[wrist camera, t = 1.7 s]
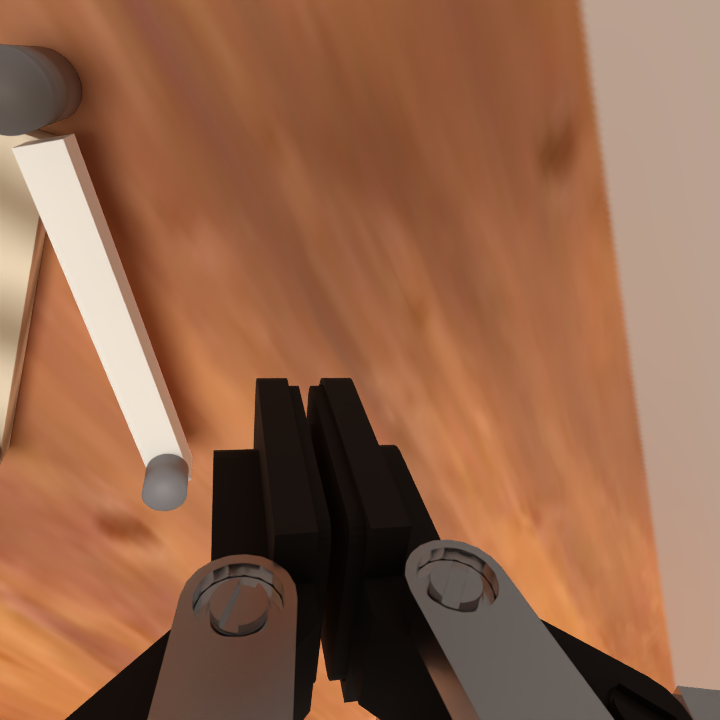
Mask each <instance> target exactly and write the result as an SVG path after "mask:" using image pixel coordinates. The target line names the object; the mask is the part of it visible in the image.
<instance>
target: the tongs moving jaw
mask: <svg viewBox="0 0 720 720" xmlns="http://www.w3.org/2000/svg"><path fill="white" fill-rule="evenodd" d="M12 151H13V153H14V155H15V158H16V160H17V163H18V165H19V167H20V170H21V172H22V174H23V177H24V179H25V182H26V184H27V186H28V189H29V191H30V193H31V196H32V198H33V201H34V203H35V205H36V208H37V210H38V212H39V215H40V217H41V220H42V222H43V224H44V227H45V229H46V231H47V234H48V236H49V239H50V241H51V243H52V246H53V248H54V250H55V253H56V255H57V257H58V260H59V262H60V265H61V267H62V269H63V272H64V274H65V276H66V279H67V281H68V284H69V286H70V288H71V291H72V293H73V295H74V298H75V300H76V303H77V305H78V307H79V310H80V312H81V314H82V317H83V319H84V322H85V324H86V326H87V329H88V331H89V333H90V336H91V338H92V341H93V343H94V345H95V348H96V350H97V352H98V355H99V357H100V359H101V362H102V364H103V367H104V369H105V371H106V374H107V376H108V378H109V381H110V383H111V386H112V388H113V390H114V393H115V395H116V397H117V400H118V402H119V405H120V407H121V409H122V412H123V414H124V416H125V419H126V421H127V424H128V426H129V428H130V431H131V433H132V435H133V438H134V440H135V443H136V445H137V447H138V450H139V452H140V454H141V457H142V459H143V461H144V464H145V466H146V473H145V479H144V484H143V490H142V499H143V501H144V503H145V504H146V505H147V506H149V507H150V508H152V509H154V510H158V511H169V510H173V509H176V508H178V507H179V506H181V505H182V504H183V503H184V501H185V499H186V497H187V486H188V480H191V478H192V464H193V457H192V454H191V451H190V449H189V446H188V443H187V440H186V438H185V435H184V432H183V430H182V427H181V424H180V421H179V419H178V416H177V413H176V410H175V408H174V405H173V402H172V399H171V397H170V394H169V391H168V389H167V386H166V383H165V380H164V378H163V375H162V372H161V369H160V367H159V364H158V361H157V359H156V356H155V353H154V350H153V348H152V345H151V342H150V339H149V337H148V334H147V331H146V329H145V326H144V323H143V320H142V318H141V315H140V312H139V309H138V307H137V304H136V301H135V299H134V296H133V293H132V290H131V288H130V285H129V282H128V279H127V277H126V274H125V271H124V268H123V266H122V263H121V260H120V258H119V255H118V252H117V249H116V247H115V244H114V241H113V238H112V236H111V233H110V230H109V228H108V225H107V222H106V219H105V217H104V214H103V211H102V208H101V206H100V203H99V200H98V198H97V195H96V192H95V189H94V187H93V184H92V181H91V178H90V176H89V173H88V170H87V167H86V165H85V162H84V159H83V157H82V154H81V151H80V148H79V146H78V143H77V140H76V137H75V135H74V134H68V135H62V136H57V137H51V138H45V139H40V140H34V141H29V142H25V143H23V144H20V145H18V146H16V147H13V148H12Z"/></svg>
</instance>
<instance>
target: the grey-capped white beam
mask: <svg viewBox="0 0 720 720" xmlns="http://www.w3.org/2000/svg"><path fill="white" fill-rule="evenodd" d="M81 96H82V87H81V82H80V79H79V76H78V74H77V72H76V70H75V69H74V67H73V66H72V65H71V63H70V62H69V61H68V60H67V59H66V58H65V57H63V56H62V55H61V54H59V53H57V52H56V51H54V50H51V49H48V48H45V47H37V46H20V45H3V44H0V464H1V462H2V460H3V458H4V456H5V454H6V453H7V451H8V449H9V446H10V440H11V434H12V428H13V422H14V416H15V410H16V404H17V399H18V393H19V387H20V381H21V375H22V369H23V363H24V357H25V352H26V346H27V340H28V334H29V328H30V322H31V316H32V310H33V305H34V299H35V293H36V287H37V281H38V275H39V269H40V263H41V258H42V252H43V246H44V240H45V234H46V229H45V227H44V224H43V222H42V220H41V217H40V215H39V212H38V210H37V208H36V205H35V203H34V201H33V198H32V196H31V193H30V191H29V189H28V186H27V184H26V182H25V179H24V177H23V174H22V172H21V170H20V167H19V165H18V163H17V160H16V158H15V155H14V153H13V151H12V148H13V147H16V146H18V145H20V144H23V143H25V142H29V141H34V140H40V139H45V138H51V137H57V136H56V135H53V134H50V133H47V132H44V131H41V130H38V129H39V128H42V127H44V126H47V125H49V124H52V123H54V122H57V121H60V120H62V119H65V118H67V117H69V116H70V115H71V114H73V113H74V112H75V111H76V109H77V108H78V106H79V104H80V101H81Z"/></svg>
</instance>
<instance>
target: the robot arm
mask: <svg viewBox="0 0 720 720" xmlns="http://www.w3.org/2000/svg"><path fill="white" fill-rule="evenodd" d="M320 640H321V642H322V648H323V654H324V659H325V665H326V671H327V676H328V679H329V680H330V681H333V680H340V682H341V687H342V692H343V698H344V703H345V702H353V701H358V704H359V705H360V706H362V707H363V708H365V709H366V710H367V711H369V712H370V713H372V714H373V715H374V716H376V717H377V718H376V720H720V690H710V689H702V688H692V687H682V686H677V687H676V689H675V691H674V693H673V694H671V693H670V692H669V691H668V690H667V689H666V688H664V687H663V686H661V685H660V684H658V683H657V682H655V681H654V680H652V679H651V678H649V677H648V676H646V675H644V674H642V673H640V672H638V671H637V670H635V669H633V668H631V667H629V666H627V665H625V664H624V663H622V662H620V661H618V660H616V659H614V658H612V657H610V656H609V655H607V654H605V653H603V652H601V651H599V650H597V649H596V648H594V647H592V646H590V645H588V644H586V643H584V642H582V641H581V640H579V639H577V638H575V637H573V636H571V635H569V634H568V633H566V632H564V631H562V630H560V629H558V628H556V627H554V626H553V625H551V624H549V623H547V622H545V621H543V620H541V619H540V618H539V617H538V616H537V614H536V613H535V612H534V610H533V609H532V608H531V606H530V605H529V604H528V602H527V601H526V600H525V598H524V597H523V595H522V594H521V593H520V591H519V590H518V589H517V587H516V586H515V585H514V583H513V582H512V581H511V579H510V578H509V577H508V575H507V574H506V572H505V571H504V570H503V568H502V567H501V566H500V565H499V564H498V563H497V562H496V561H495V560H494V559H493V558H492V557H491V556H490V555H488V554H486V553H485V552H483V551H482V550H480V549H479V548H477V547H474V546H472V545H469V544H467V543H464V542H459V541H453V540H440V537H439V535H438V533H437V531H436V529H435V527H434V524H433V522H432V520H431V518H430V516H429V513H428V511H427V509H426V507H425V505H424V503H423V500H422V498H421V496H420V494H419V492H418V489H417V487H416V485H415V483H414V481H413V478H412V476H411V474H410V472H409V470H408V468H407V465H406V463H405V461H404V459H403V457H402V454H401V452H400V450H399V449H398V447H397V446H395V445H379V444H378V442H377V440H376V437H375V435H374V432H373V430H372V427H371V425H370V422H369V420H368V418H367V415H366V413H365V410H364V408H363V405H362V403H361V400H360V398H359V396H358V393H357V391H356V388H355V386H354V383H353V381H352V379H351V378H321V380H320V384H319V386H310V388H309V394H308V406H307V419H306V415H305V411H304V406H303V402H302V398H301V394H300V389H299V386H289V385H288V380H287V378H257V379H256V394H255V422H254V449H245V450H214V458H213V504H212V550H211V562H210V563H208V564H206V565H205V566H203V567H202V568H200V569H198V570H197V571H196V572H195V573H194V574H193V575H192V576H191V578H190V579H189V580H188V581H187V582H186V584H185V586H184V588H183V590H182V593H181V595H180V597H179V601H178V605H177V609H176V613H175V616H174V620H173V624H172V628H171V630H169V631H168V632H167V633H166V634H165V635H164V636H162V637H161V638H160V639H159V640H158V641H157V642H155V643H154V644H153V645H152V646H151V647H149V648H148V649H147V650H146V651H145V652H144V653H142V654H141V655H140V656H139V657H138V658H137V659H135V660H134V661H133V662H132V663H131V664H130V665H128V666H127V667H126V668H125V669H124V670H122V671H121V672H120V673H119V674H118V675H117V676H115V677H114V678H113V679H112V680H111V681H110V682H108V683H107V684H106V685H105V686H104V687H103V688H101V689H100V690H99V691H98V692H97V693H96V694H94V695H93V696H92V697H91V698H90V699H88V700H87V701H86V702H85V703H84V704H83V705H81V706H80V707H79V708H78V709H77V710H76V711H74V712H73V713H72V714H71V715H70V716H69V717H67V718H66V719H65V720H304V718H305V717H306V716H307V714H308V713H309V712H310V707H311V698H312V690H313V683H315V681H316V674H317V666H318V657H319V649H320Z"/></svg>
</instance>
